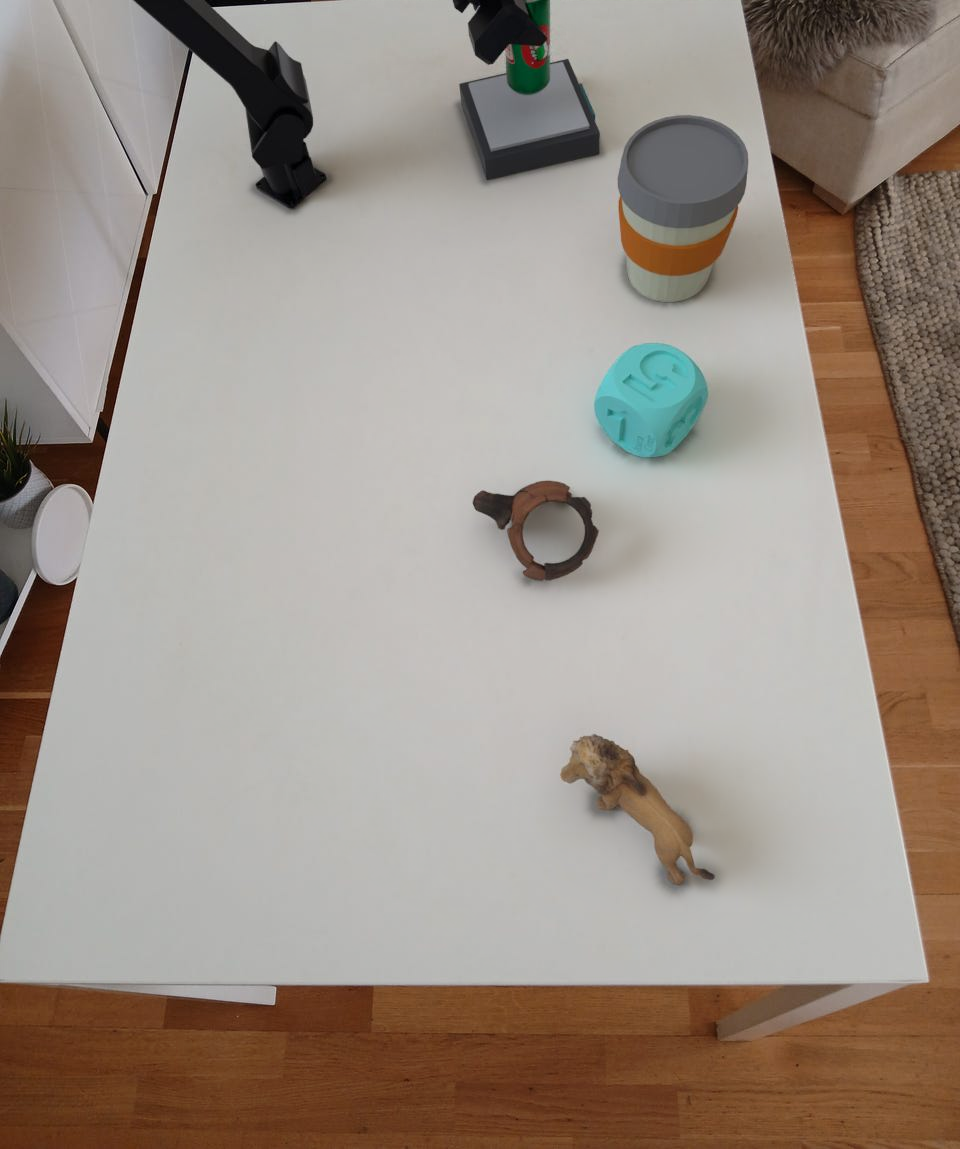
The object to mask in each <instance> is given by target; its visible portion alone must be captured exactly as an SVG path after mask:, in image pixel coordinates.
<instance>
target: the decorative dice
mask: <svg viewBox="0 0 960 1149" xmlns="http://www.w3.org/2000/svg"><path fill="white" fill-rule="evenodd" d="M708 397H709V389H708V384H707V380H706V378H705V375H704V373H703V372H702V371H701V369H700V367H699V365H697V363H696V362H695V361H694V360H693V359H692V358H691V357H690V356H689V355H687V353H685V352H684V351H682V350H681V349H679V348H677V347H675V346H673V345H670V344H666V343H659V342H648V343H641V344H637V345H633V346H631V347H630V348H628V349H627V350H625V351H624V352H622V353H621V355H619V357H618V358H617V359H616V360H615V361H614V363H612V365H611V366H610V368H609V369H608V370H607V372H606V374H605V375H604V377H603V379H602V380H601V382H600V384H599V386H598V388H597V391H596V394H595V398H594V402H593V403H594V404H593V408H594V413H595V417H596V419H597V421H598V423H599V425H600V428H602V430H603V432H605V434H606V435H607V436H608V438H609V439H611V440H612V442H614V443H615V445H618V446H619V447H620V448H621V449H622V450H624V451H626V452H628V453H629V454H632V455H634V456H636V457H642V458H658V457H663V456H667V455H668V454H669V453H671V452H673V451H674V450H675V449H676V448H677V447H678V446H679V445H680V444H681V443H682V442H683V441H684V439H685V438H686V437H687V436H688V435H689V433H690V432H691V430H692V429H693V428H694V426H695V425H696V423H697V422H698V420H699V419H700V417H701V414H702V413H703V411H704V408H705V406H706V403H707V400H708Z"/></svg>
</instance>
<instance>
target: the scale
mask: <svg viewBox="0 0 960 1149" xmlns="http://www.w3.org/2000/svg"><path fill="white" fill-rule="evenodd" d="M458 86H459V94H460V96H459V97H460V104H461V107H462V111H463V113H464V117H465V119H466V122H467V126H468V128H469V132H470V134H471V138H472V141H473V143H474V147H475V150H476V153H477V156H478V159H479V162H480V164H481V167H482V171H483V173H484V177H485V180H486V181H490V180H494V179H498V178H503V177H507V176H511V175H516V174H520V173H523V172H524V173H525V172H527V171H532V170H537V169H541V168H545V167H549V166H553V165H558V164H562V163H567V162H570V161H576V160H579V159H580V160H581V159H584V158H588V157H593V156H597V155H600V144H601V143H600V140H601V139H600V138H601V132H600V130H599V127H598V124H597V123H596V113H595V111H594V108H593V107H592V104H591V101H590V99H589V97H588V95H587V92H586V90H585V88H584V85H583V83H582V82H581V83H579V80H578V78H577V76H576V73H575V71H574V68H573V66H572V65H571V62H570V59H569V58H565V59H561V60H556V61H552V62H551V61H550V81H549V83H548V85H547V86H546V87H545V88H544V89H543V90H542V91H541V92H539V93H537V94H533V95H521V94H518V93H516V92H515V91H513V90H512V89H511V88H510V87H509V86H508V84H507V78H506V72H505V73H499V74H495V75H491V76H487V77H483V78H478V79H473V80H469V81H465V82H461V83H459V84H458Z"/></svg>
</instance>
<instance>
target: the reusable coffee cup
mask: <svg viewBox="0 0 960 1149" xmlns="http://www.w3.org/2000/svg"><path fill="white" fill-rule="evenodd" d="M748 170H749V151H748V149H747V147H746V144H745V142H744V141H743V139H742V138H741V137H740V136H739V135H738V134H737V133H736V131H734V130H733V129H732V128H730V127H729V126H727V125H726V124H724V123H722V122H720V121H717V120H715V119H713V118H709V117H704V116H701V115H692V114H679V115H677V114H676V115H670V116H665V117H661V118H659V119H654V120H653V121H651V122H649V123H646V124H645V125H643V126H642V127H640V128H639V129H637V130H636V131H634V133H633V134H632V135H631V136H630V137H629V139H628V140H627V141H626V144H625V145H624V147H623V152H622V155H621V159H620V165H619V170H618V174H617V189H618V193H619V198H618V218H619V219H618V220H619V231H620V241H621V246H622V249H623V251H624V253H625V257H626V258H625V259H626V272H627V277H628V280H629V282H630V285H631V286H632V287H633V288H634V290H635V291H636V292H638V293H639V294H640V295H642V296H643V297H644V298H647V299H650V300H653V301H656V302H661V303H662V302H663V303H675V302H681V301H682V302H683V301H685V300H688V299H690V298H692V297H694V296H696V295H697V294H698V293H699V292H701V291H702V290H703V288H704V287H705V286H706V284H707V282H708V280H709V277H710V275H711V272H712V271H713V270H712V269H713V267H714V264H715V263H716V261H717V260H718V259H719V258H720V256H722V254H723V252H724V250H725V247H726V244H727V243H728V239H729V238H730V234H731V232H732V229H733V227H734V224H735V222H736V220H737V216H738V211H739V204H740V203H741V201H743V200H742V199H743V198H744V196H745V194H746V188H747V181H748Z"/></svg>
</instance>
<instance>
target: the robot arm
mask: <svg viewBox="0 0 960 1149" xmlns="http://www.w3.org/2000/svg"><path fill="white" fill-rule="evenodd" d="M132 1H133V2H134V3H135V4H137V5H138V6H139V7H140V8H141V9H142V10H143V11H144V12H146V13H147V14H148V15H149V16H151V18H153V19H154V20H155V21H156V22H158V23H159V25H160V26H162V27H163V28H164V29H165V30H166V31H168V32H169V33H170V34H171V35H172V36H173V37H174V38H176V40H178V41H179V42H180V43H181V44H182V45H184V46H185V47H186V48H187V49H188V50H189V51H190V52H192V53H193V54H194V55H195V56H196V57H197V58H198V59H200V60H201V61H202V62H203V63H204V64H205V65H206V66H208V68H210V69H211V70H212V71H213V72H215V74H217V75H218V76H219V77H221V79H223V80H224V81H225V82H226V83H227V84H229V86H230V87H231V88H232V89H233V91H234V92H235V94H236V95H237V97H238V99H239V100H240V101H241V103H242V105H243V107H244V110H245V116H246V123H247V131H248V138H249V144H250V152H251V158H252V160H254V161H255V163H256V164H257V165H258V166H259V167H260V169H261V173H262V175H263V176H262V178H261V179H259V180H258V181H257V182H255V188H256V189H257V190H258V191H259V192H261V193H262V194H264V195H266V196H268V198H271V199H273V200H274V201H276V202H277V203H279V204H281V205H283V206H284V207H286V208H287V209H289V210H290V209H291V210H293V209H295V208H296V207H297V206H299V204H300V203H302V202H303V201H304V200H305V199H306V198H308V197H309V196H310V195H311V194H312V193H313V192H314V191H315V190H317V189H318V188H319V187H320V186H321V185H323V184H324V183H326V181H327V180H328V178H327V174H326V173H325V172H323V171H322V170H319V169H318V168H316V167H314V163H313V160H312V158H311V155H310V153H309V150H308V146H307V143H306V141H304V140H305V139H306V138H308V136H309V135H310V134H311V133H312V130H313V127H314V116H313V110H312V106H311V105H312V104H311V100H310V94H309V90H308V83H307V80H306V78H305V77H306V76H305V75H304V70H303V67H302V66H303V65H302V63H301V62H300V61H297V60H295V59H294V58H292V57H291V56H290V55H289V54H288V53H287V52H286V51H285V50H284V48H283V46H281V44H280V43H279V42H278V41H273V43H272V44H271V46H270V47H269V49H265V48H262V47H258V46H255V45H253V43H251V42H249V41H248V40H247V39H246V38H245V37H244V36H243V35H242V34H241V33H240V32H239V31H237V29H236V28H234V27H233V26H232V25H231V24H230V23H229V22H228V21H227V20H226V19H225V18H224V17H223V16H222V15H221V14H219V12H217V11H216V10H215V9H214V7H212V6H211V5H210V4H209V3H208V2H207V1H206V0H132ZM452 3H453V7H454V9H455V10H457V11H458V12H460V13H461V14H463V13H464V12H465V11H466V9H467V8H468V6H470V4H471V5H472V7H473V10H474V11H475V13H474V14H473V15H472V16H471V18H470V19H469V21H468V22H467V29H468V37H469V40H470V44H471V46H472V50H473V53H474V56H475V57H476V58H478V59H479V60H480V61H482V62H483V63H484V64H486V65H490V66H491V65H494V64H495V62H496V61H497V60H498V59H499V57H500V56H501V55H503V52H505V49H506V47H507V46H508V45H509V44H512V45H529V46H542V45H543V44H544V43H545V42H546V40H547V36H546V34H545V33H544V32H543V31H542V29H541V28H540V27H539V26H538V25H537V24H536V22H535V21H534V20H533V19H532V18H531V17H530V16H529V14H528V11H527V9H526V6H525V0H452Z"/></svg>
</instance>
